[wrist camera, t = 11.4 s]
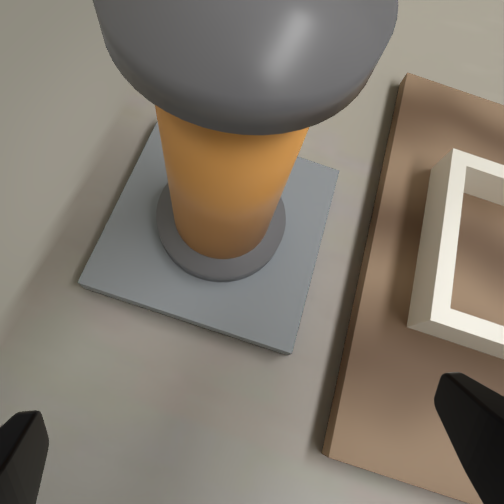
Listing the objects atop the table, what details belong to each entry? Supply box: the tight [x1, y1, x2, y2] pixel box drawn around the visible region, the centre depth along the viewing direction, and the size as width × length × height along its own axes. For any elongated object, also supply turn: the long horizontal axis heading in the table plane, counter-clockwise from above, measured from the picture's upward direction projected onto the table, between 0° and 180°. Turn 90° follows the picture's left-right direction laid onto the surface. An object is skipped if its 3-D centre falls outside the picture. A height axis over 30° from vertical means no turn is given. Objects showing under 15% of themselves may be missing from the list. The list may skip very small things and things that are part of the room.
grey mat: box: [77, 121, 339, 355], centre depth 19 cm, size 10×10×1 cm
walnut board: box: [322, 73, 504, 504], centre depth 20 cm, size 22×14×1 cm, turn 163°
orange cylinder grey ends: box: [93, 0, 398, 282], centre depth 13 cm, size 6×6×12 cm
